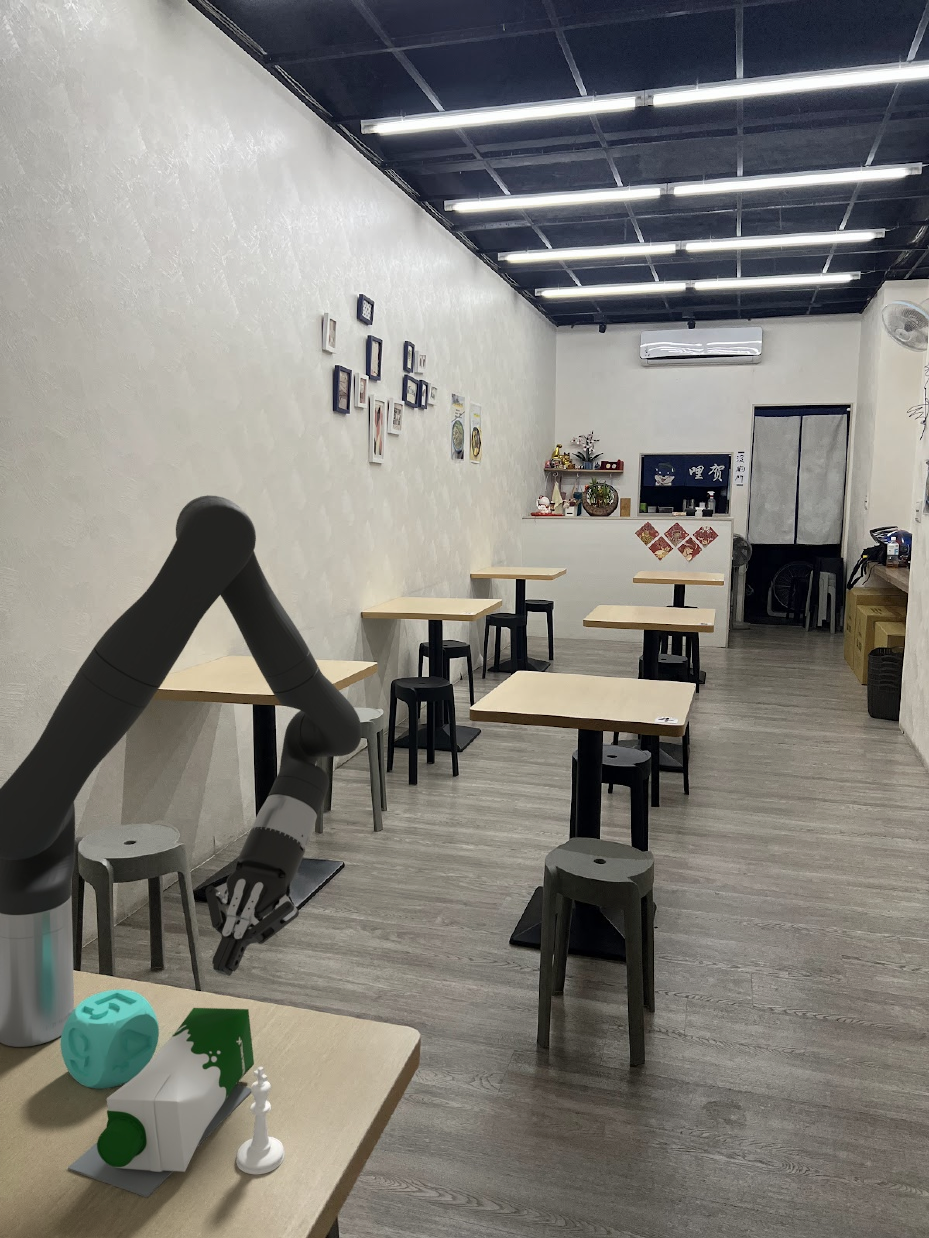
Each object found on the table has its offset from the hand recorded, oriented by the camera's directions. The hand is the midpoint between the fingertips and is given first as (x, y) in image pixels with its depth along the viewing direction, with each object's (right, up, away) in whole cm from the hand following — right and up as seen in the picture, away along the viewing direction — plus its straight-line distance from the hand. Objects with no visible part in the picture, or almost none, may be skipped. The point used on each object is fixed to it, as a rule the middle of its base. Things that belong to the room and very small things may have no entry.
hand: (221, 972), depth 106 cm
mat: (-4, -14, -8) cm, 16 cm away
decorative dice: (-14, -13, +2) cm, 19 cm away
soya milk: (0, -8, +2) cm, 8 cm away
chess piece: (+7, -15, -12) cm, 20 cm away
